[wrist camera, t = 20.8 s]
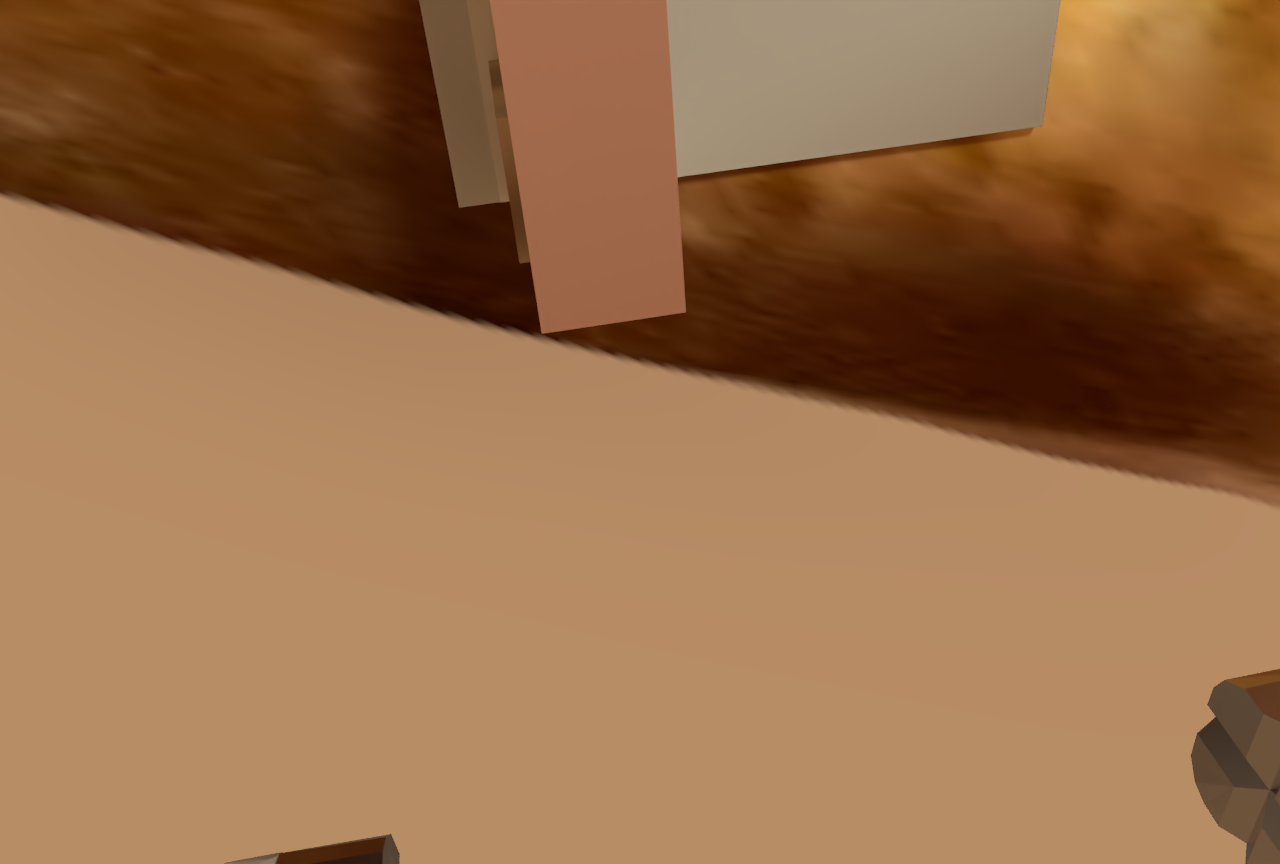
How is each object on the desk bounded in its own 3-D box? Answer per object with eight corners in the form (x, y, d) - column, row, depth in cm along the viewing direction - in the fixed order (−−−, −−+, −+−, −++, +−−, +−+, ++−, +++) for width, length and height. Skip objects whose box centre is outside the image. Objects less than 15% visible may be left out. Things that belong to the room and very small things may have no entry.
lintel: (530, 265, 33) (541, 333, 30) (456, -210, 26) (460, -186, 23) (661, 246, 34) (685, 312, 30) (625, -229, 26) (653, -208, 23)
